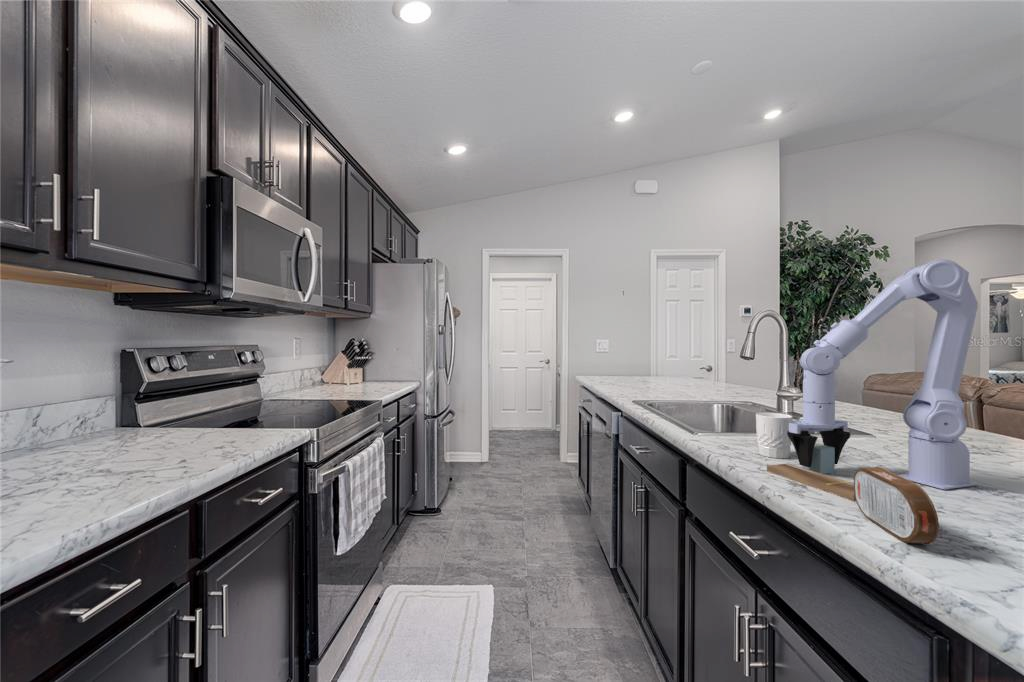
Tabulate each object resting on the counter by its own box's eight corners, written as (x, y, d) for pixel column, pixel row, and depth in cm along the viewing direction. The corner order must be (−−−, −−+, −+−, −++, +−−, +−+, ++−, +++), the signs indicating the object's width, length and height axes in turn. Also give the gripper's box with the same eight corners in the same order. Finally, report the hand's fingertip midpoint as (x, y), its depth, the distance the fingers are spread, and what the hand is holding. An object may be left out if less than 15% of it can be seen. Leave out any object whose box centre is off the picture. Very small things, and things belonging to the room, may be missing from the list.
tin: (941, 555, 56) (941, 492, 56) (913, 553, 57) (913, 490, 57) (870, 511, 71) (870, 460, 71) (848, 509, 72) (849, 459, 72)
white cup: (763, 458, 103) (763, 417, 103) (750, 450, 111) (750, 411, 111) (799, 460, 101) (799, 418, 101) (783, 451, 109) (783, 412, 109)
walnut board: (788, 468, 94) (788, 463, 94) (878, 497, 77) (878, 490, 77) (766, 471, 93) (766, 465, 93) (853, 500, 75) (853, 493, 75)
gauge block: (816, 467, 95) (816, 443, 95) (834, 473, 92) (834, 447, 92) (802, 469, 94) (802, 444, 94) (820, 474, 90) (820, 448, 91)
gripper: (825, 398, 99) (825, 457, 99) (776, 400, 95) (776, 461, 95) (857, 402, 92) (857, 465, 92) (806, 405, 88) (806, 471, 88)
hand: (818, 464), depth 93 cm, fingers open, 7 cm apart
